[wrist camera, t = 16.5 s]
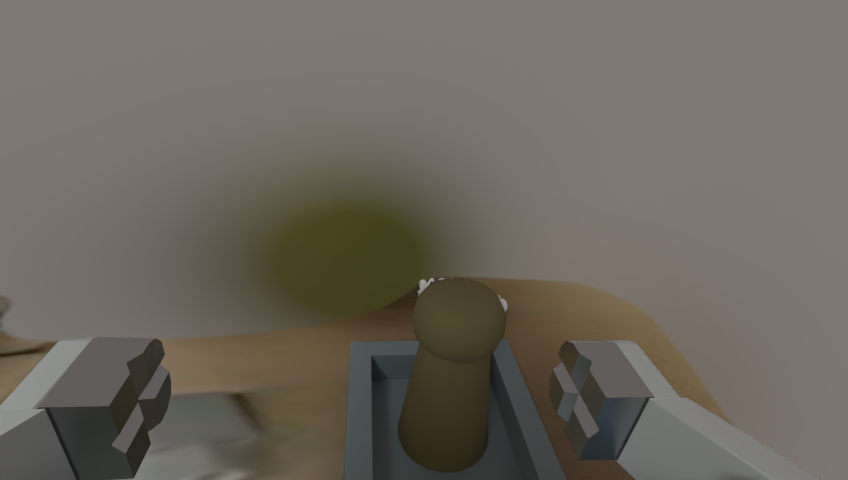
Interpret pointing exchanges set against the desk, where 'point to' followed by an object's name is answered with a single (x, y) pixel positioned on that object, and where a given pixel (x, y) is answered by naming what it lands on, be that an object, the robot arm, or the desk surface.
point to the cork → (451, 375)
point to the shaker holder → (383, 400)
